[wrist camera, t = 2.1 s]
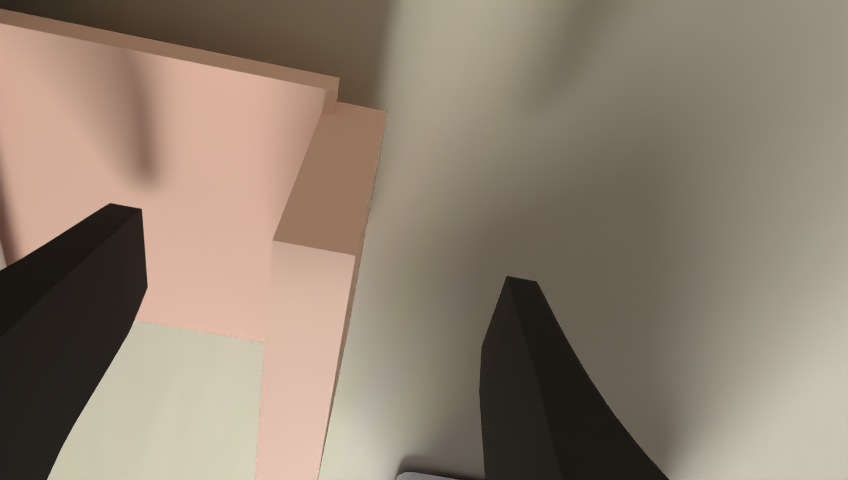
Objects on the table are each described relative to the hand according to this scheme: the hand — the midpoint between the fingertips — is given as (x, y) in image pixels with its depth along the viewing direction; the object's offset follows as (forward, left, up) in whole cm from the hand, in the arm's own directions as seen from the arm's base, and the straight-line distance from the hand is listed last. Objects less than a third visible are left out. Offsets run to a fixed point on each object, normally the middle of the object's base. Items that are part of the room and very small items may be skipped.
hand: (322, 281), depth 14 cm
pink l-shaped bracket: (+6, 0, -2) cm, 7 cm away
